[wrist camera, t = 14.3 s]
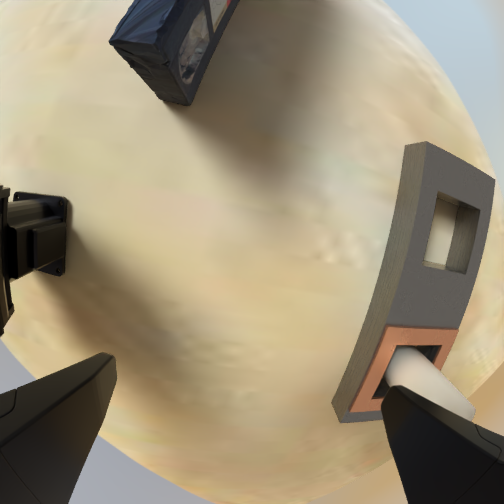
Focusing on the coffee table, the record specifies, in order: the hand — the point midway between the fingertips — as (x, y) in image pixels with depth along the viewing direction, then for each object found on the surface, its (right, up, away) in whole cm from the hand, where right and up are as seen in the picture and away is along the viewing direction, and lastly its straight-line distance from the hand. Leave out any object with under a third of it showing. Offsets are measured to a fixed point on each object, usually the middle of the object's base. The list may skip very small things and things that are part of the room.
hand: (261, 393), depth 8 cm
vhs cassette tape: (-3, +23, +8) cm, 25 cm away
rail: (+14, 0, +14) cm, 20 cm away
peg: (+13, -5, +15) cm, 21 cm away
